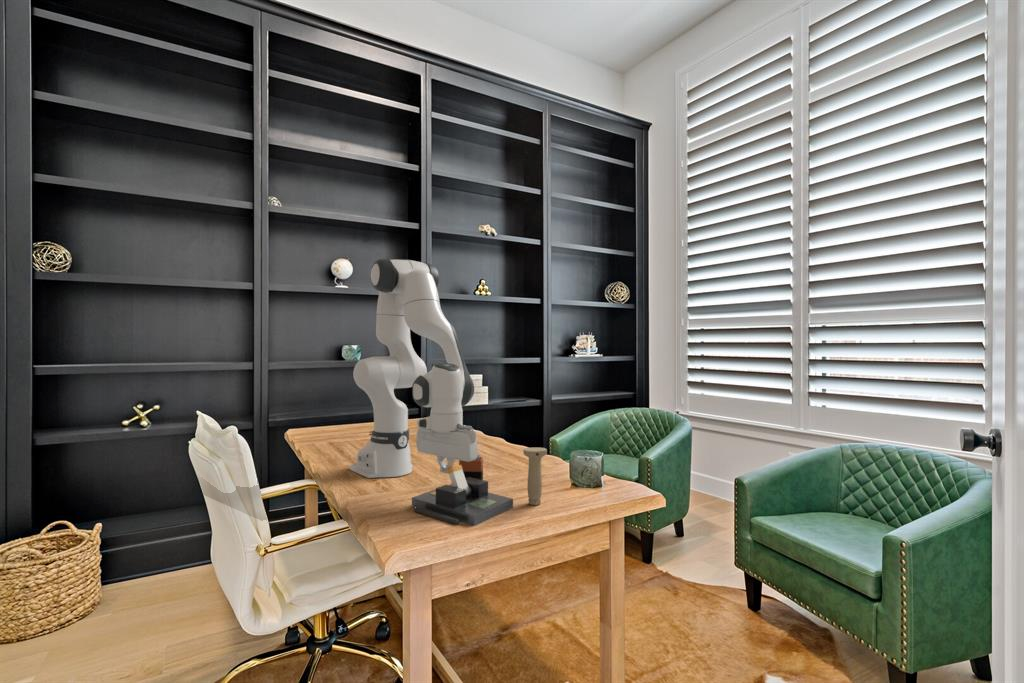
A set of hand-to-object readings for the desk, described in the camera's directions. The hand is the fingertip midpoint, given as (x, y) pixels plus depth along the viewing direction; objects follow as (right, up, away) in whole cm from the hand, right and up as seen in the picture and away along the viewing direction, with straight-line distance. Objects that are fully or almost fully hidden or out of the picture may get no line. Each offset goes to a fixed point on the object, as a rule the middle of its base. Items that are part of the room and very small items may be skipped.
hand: (446, 472), depth 135 cm
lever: (+5, -5, -4) cm, 8 cm away
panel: (+5, -8, -3) cm, 10 cm away
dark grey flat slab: (+5, -8, -3) cm, 10 cm away
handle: (+24, -9, 0) cm, 26 cm away
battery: (+6, -9, +13) cm, 17 cm away
